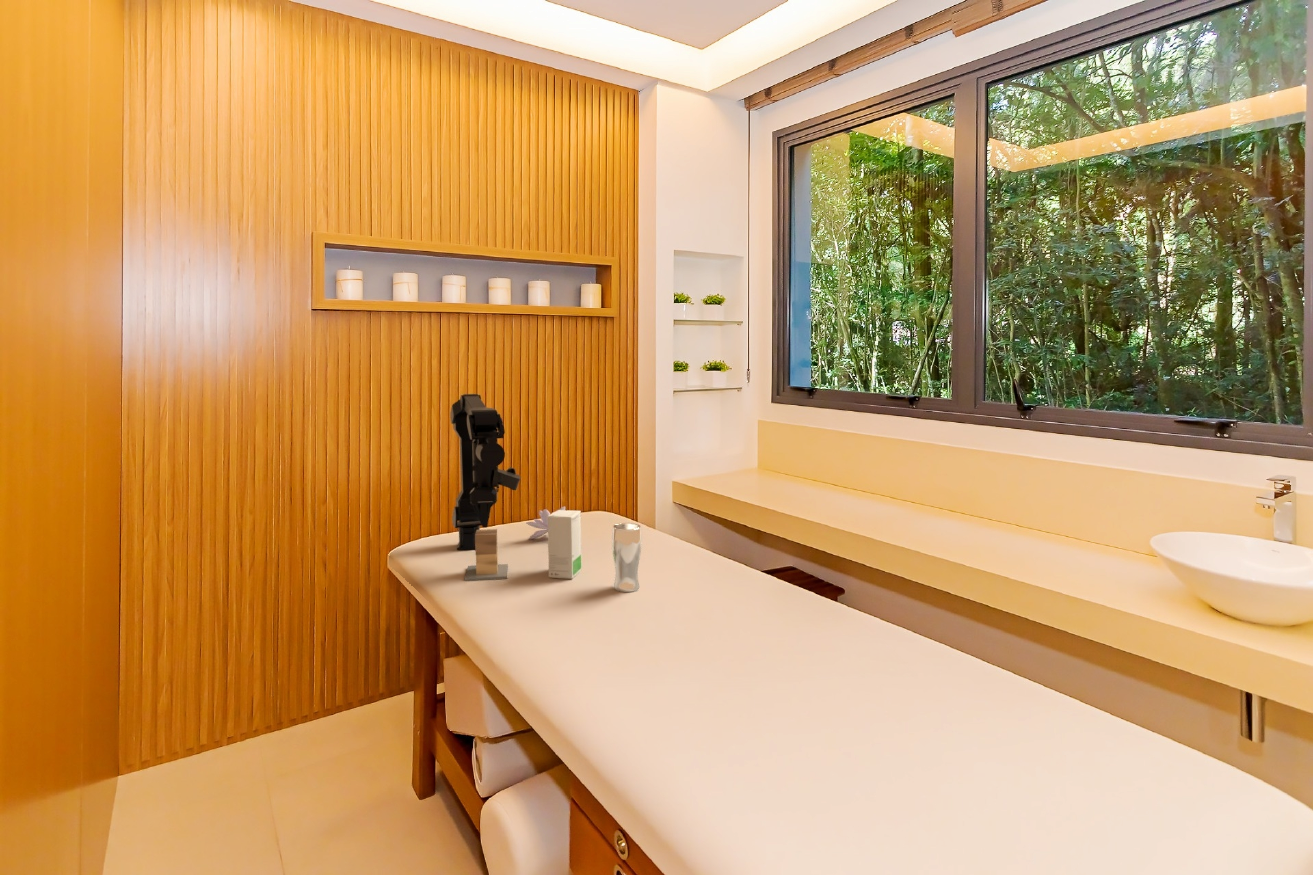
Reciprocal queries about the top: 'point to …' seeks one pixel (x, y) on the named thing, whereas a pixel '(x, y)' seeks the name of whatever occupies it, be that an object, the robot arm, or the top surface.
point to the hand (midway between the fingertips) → (486, 522)
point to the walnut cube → (486, 542)
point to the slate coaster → (472, 574)
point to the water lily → (541, 523)
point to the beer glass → (626, 555)
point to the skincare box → (564, 544)
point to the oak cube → (487, 564)
